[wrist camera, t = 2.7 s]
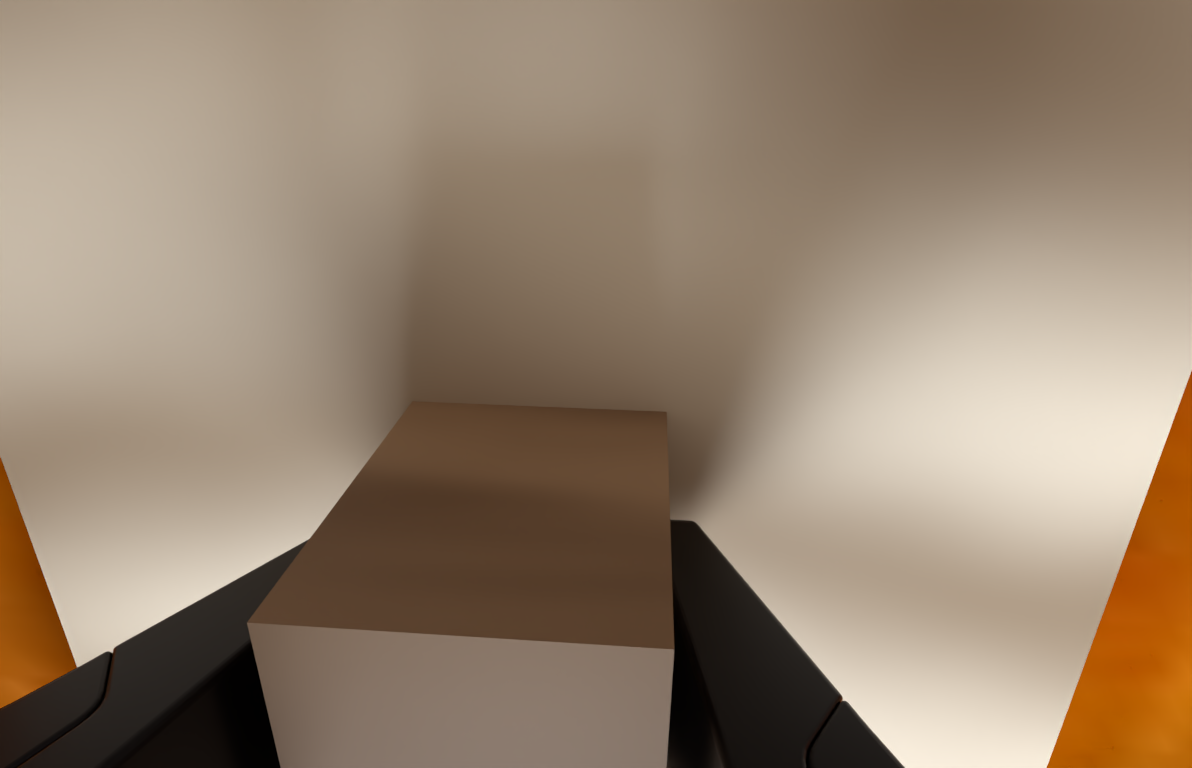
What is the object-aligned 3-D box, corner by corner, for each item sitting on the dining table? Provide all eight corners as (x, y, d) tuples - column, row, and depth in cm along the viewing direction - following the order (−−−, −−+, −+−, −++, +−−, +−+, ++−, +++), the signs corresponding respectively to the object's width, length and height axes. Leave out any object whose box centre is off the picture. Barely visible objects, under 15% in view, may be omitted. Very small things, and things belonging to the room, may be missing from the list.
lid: (948, 804, 14) (1140, 1282, 8) (204, 748, 15) (-61, 1142, 9) (1223, -124, 8) (2503, -576, 2) (-45, -114, 9) (-1163, -418, 3)
